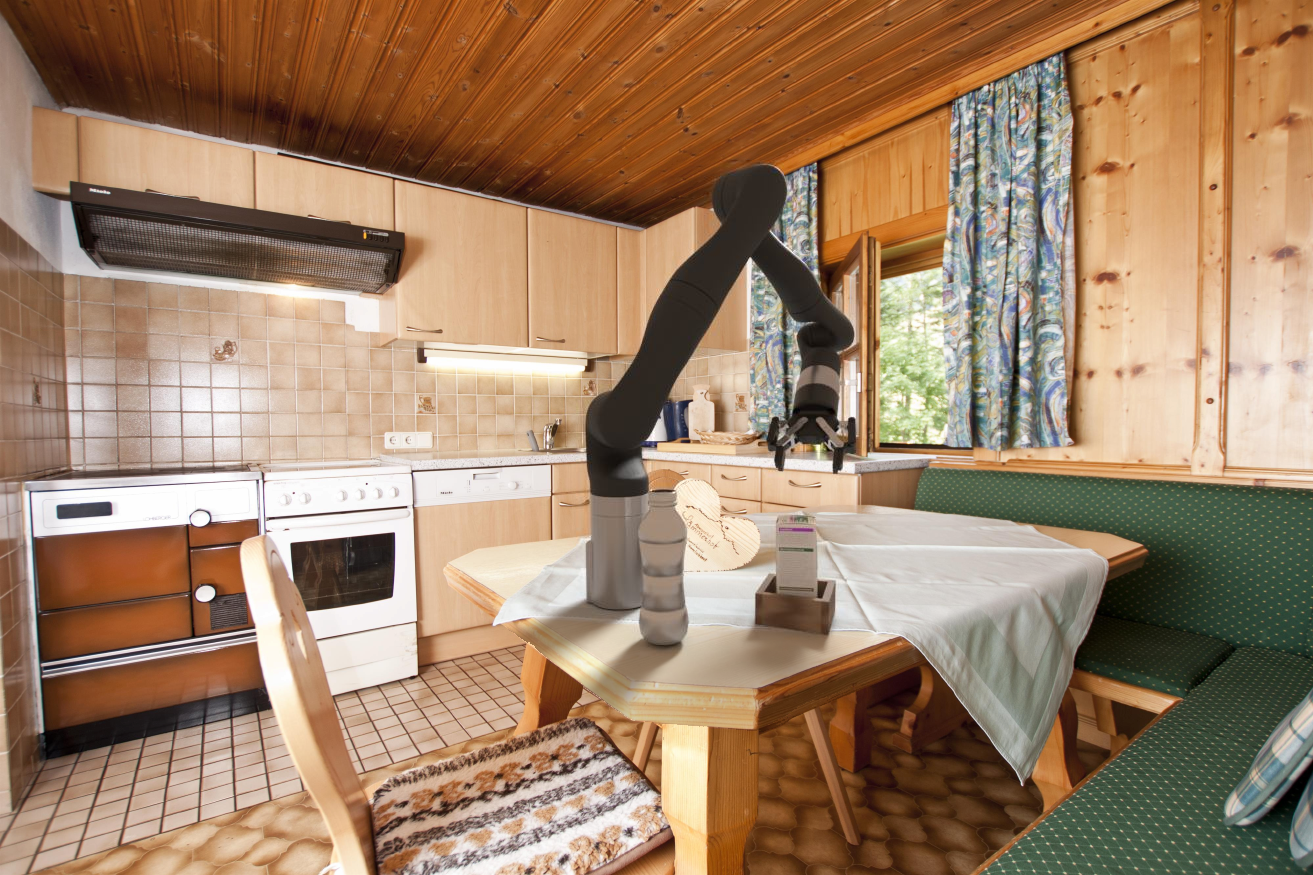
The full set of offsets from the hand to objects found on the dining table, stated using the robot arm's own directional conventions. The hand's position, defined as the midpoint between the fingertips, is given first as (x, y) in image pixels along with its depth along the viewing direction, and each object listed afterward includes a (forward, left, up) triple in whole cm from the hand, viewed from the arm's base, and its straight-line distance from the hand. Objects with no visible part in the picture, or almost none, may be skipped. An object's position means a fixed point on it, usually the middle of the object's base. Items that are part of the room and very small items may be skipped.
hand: (807, 469), depth 92 cm
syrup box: (0, -9, -21) cm, 23 cm away
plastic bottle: (-15, -24, -21) cm, 35 cm away
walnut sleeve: (0, -10, -20) cm, 23 cm away
